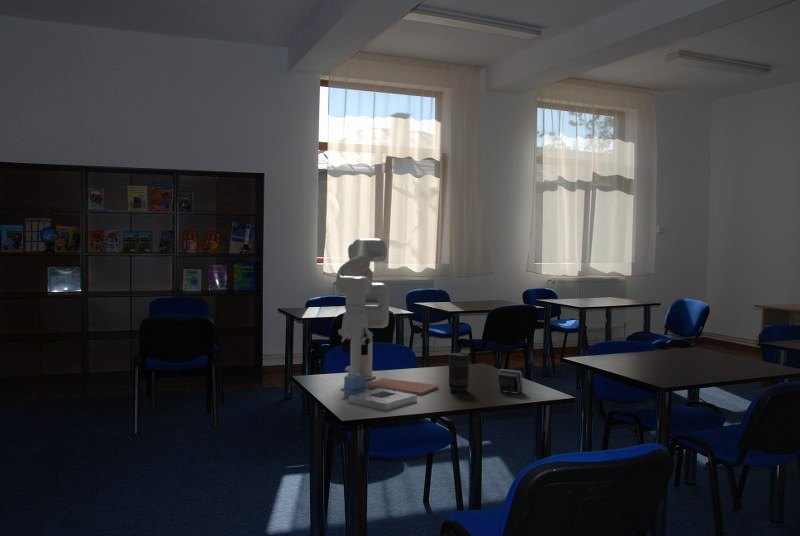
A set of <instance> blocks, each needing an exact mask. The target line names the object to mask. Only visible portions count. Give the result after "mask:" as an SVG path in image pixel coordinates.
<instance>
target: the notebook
mask: <svg viewBox="0 0 800 536" xmlns="http://www.w3.org/2000/svg"><path fill="white" fill-rule="evenodd" d="M365 385H367V386H369V388H368V390H372V389H373V390H374V389H378V388H383V389H388V390H393V391H398V392H404V393H409V394H414V395H417V397H418V396H419V397H421V396H424V395H426V394H428V393H430V392H433V391H436V390H438V389H439V387H440V385H439V384H438V385H437V384H433V383H431V384H430V383H426V382H425V383H423V382H417V381H415V382H414V381H408V380H401V379H391V378H384V377H382V378H379V379H376V380H373V381H370V382H365ZM370 388H372V389H370Z"/></svg>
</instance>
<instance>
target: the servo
mask: <svg viewBox="0 0 800 536" xmlns="http://www.w3.org/2000/svg"><path fill="white" fill-rule="evenodd" d="M343 378H344V385H343V386H344V387H343V388H340V392H344V393H343V397H345V396H350V395H354V394H358V393H362V392H366V390H367V389H369V386H367V385H365V384H366V380H365V376H363V375H360V373H356V375H352V376H347V375H346V376H344V377H343ZM366 388H367V389H366Z"/></svg>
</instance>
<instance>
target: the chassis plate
mask: <svg viewBox="0 0 800 536" xmlns="http://www.w3.org/2000/svg"><path fill="white" fill-rule="evenodd" d="M347 398H348V400H347V401H348V402H347V403H349V404H351V405H357V406H361V407H366V408H371V409H376V410H381V411H385V412H386V411H390V410H394V409H396V408H401V407H404V406H407V405H411V404H414V403H417V402H418V395H414V394H409V393H404V392H398V391H393V390H388V389H383V388H378V389H373V390H372V389H369V390H365V392H362V393H358V394H354V395H350V396H348V397H347Z"/></svg>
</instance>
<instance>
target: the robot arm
mask: <svg viewBox="0 0 800 536" xmlns="http://www.w3.org/2000/svg"><path fill="white" fill-rule="evenodd" d="M347 254H348V259H349V260H347V261H346V262H344V263H343V264H342V265H341V266H340V267H339V268H338V270H337V273H336V279H335V292H336V293H337V294H339V295H342V296H345V305H344V309H345V312H344V313H343V316H342V323H341V328H339V329H338V330H337V333H338V336H339V339H340V342H341V343H342V353H344V354H346V353H349V352H350V365H347V366H346V367H345V368H344V371H345V372H348V374H346V377H347V376H352V375H356V373H360V375H363V376H365V381H370V380H374V379H376V374H375V373H373V336H374V333H373V332H371V330H369V328H370V329H373V328H374V329H381V328H382V329H385V328H386V327H388V325H389V322H390V321H389V319H390V291H389V290H390V289H389V287H388V285H387V284H386V283H384V282H374V281H373V279H374V278H373V276H374V275H373V274H374V273H373V270H372V269H371V266H370V265H371V263H372V262H373V263H375V262H377V263H379V262H380V263H381V262H382V263H383V262H385V261H386V259H387V257H388V247H387V244H386V242H385V241H384V239H381V238H365V237H364V238H358V239H355V240H354V241H353V242H352V243H351V244H350V245H348V248H347ZM349 340H350V342H349ZM369 379H370V380H369Z"/></svg>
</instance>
